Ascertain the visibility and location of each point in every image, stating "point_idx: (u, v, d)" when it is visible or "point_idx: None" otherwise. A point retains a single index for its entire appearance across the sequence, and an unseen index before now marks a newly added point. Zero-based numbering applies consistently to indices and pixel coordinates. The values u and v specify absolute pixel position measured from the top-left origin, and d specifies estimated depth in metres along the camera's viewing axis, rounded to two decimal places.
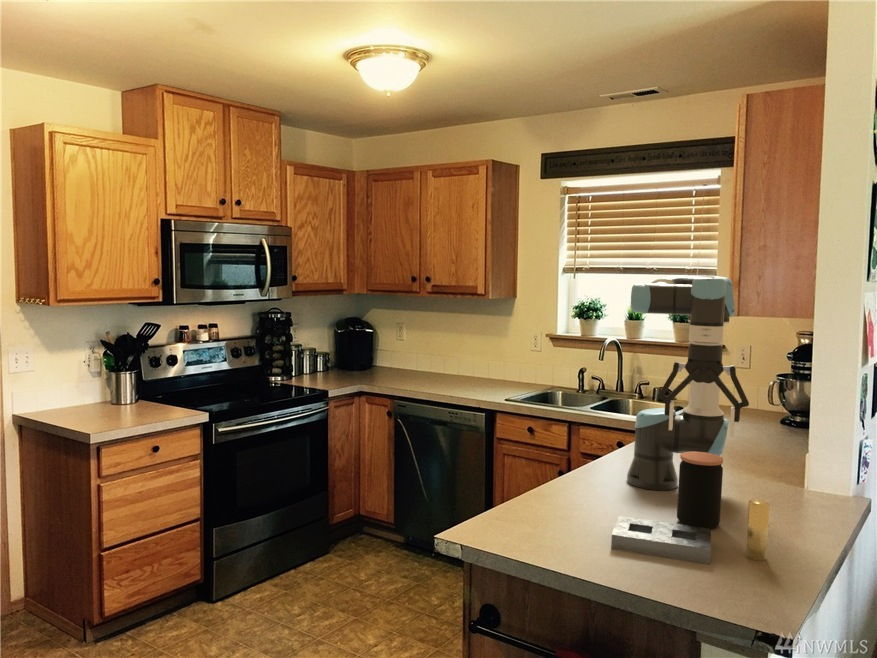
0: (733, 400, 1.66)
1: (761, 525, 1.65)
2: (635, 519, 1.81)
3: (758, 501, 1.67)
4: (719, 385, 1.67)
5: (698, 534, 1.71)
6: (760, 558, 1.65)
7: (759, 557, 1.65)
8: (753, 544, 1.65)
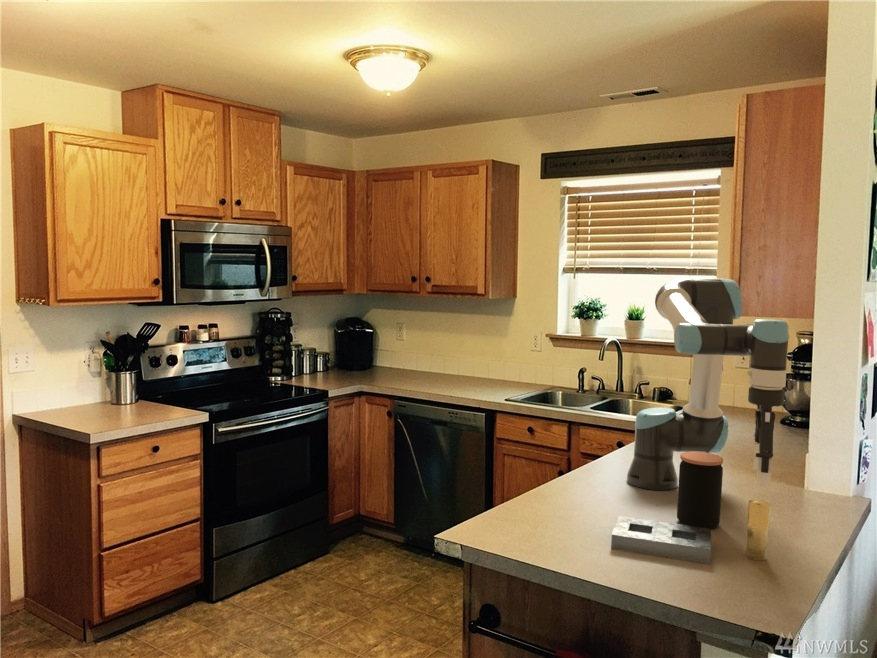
0: (759, 447, 1.59)
1: (761, 525, 1.65)
2: (635, 519, 1.81)
3: (758, 501, 1.67)
4: (759, 430, 1.62)
5: (698, 534, 1.71)
6: (760, 558, 1.65)
7: (759, 557, 1.65)
8: (753, 544, 1.65)
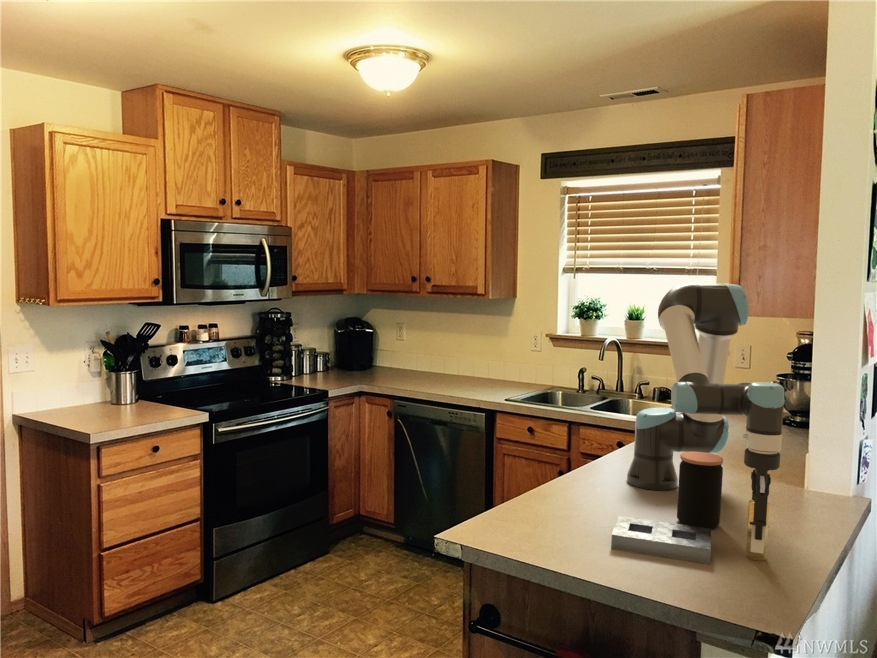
0: None
1: None
2: (635, 519, 1.81)
3: None
4: (754, 494, 1.65)
5: (698, 534, 1.71)
6: (760, 558, 1.65)
7: (759, 557, 1.65)
8: None
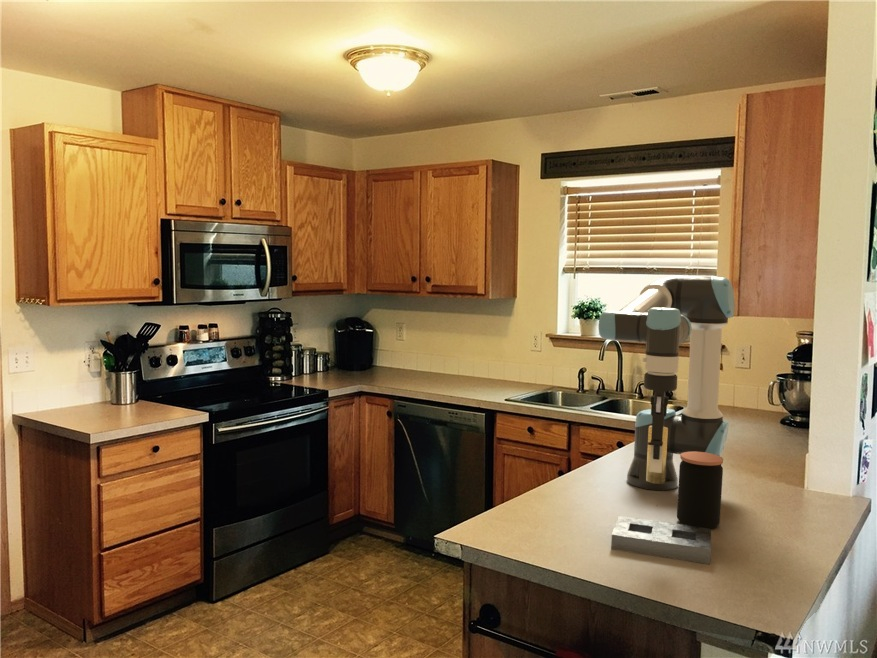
0: None
1: None
2: (635, 519, 1.81)
3: None
4: (652, 416, 1.70)
5: (698, 534, 1.71)
6: (659, 481, 1.70)
7: (658, 480, 1.70)
8: None
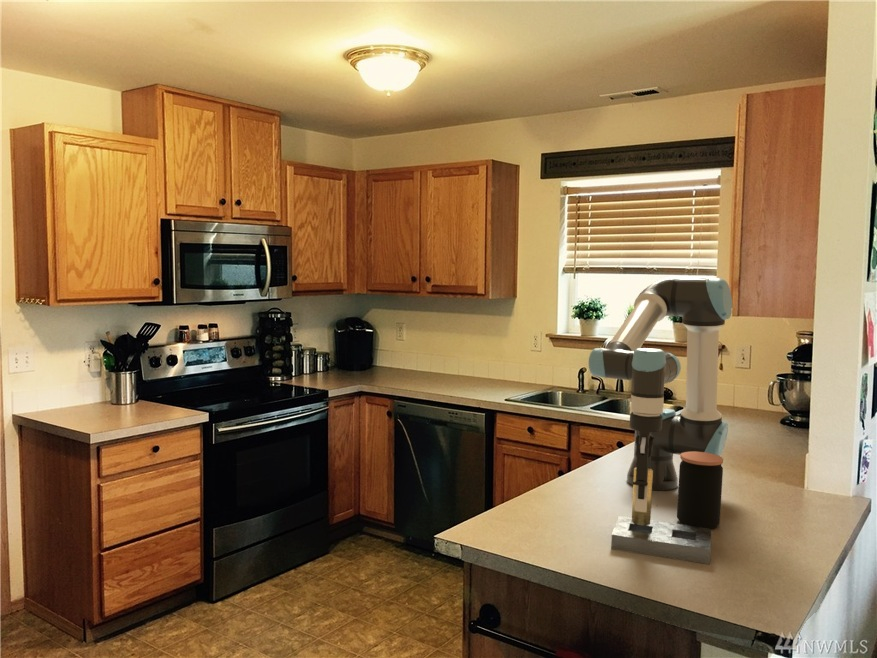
0: None
1: None
2: None
3: None
4: None
5: (698, 534, 1.71)
6: (643, 523, 1.72)
7: (642, 522, 1.72)
8: None
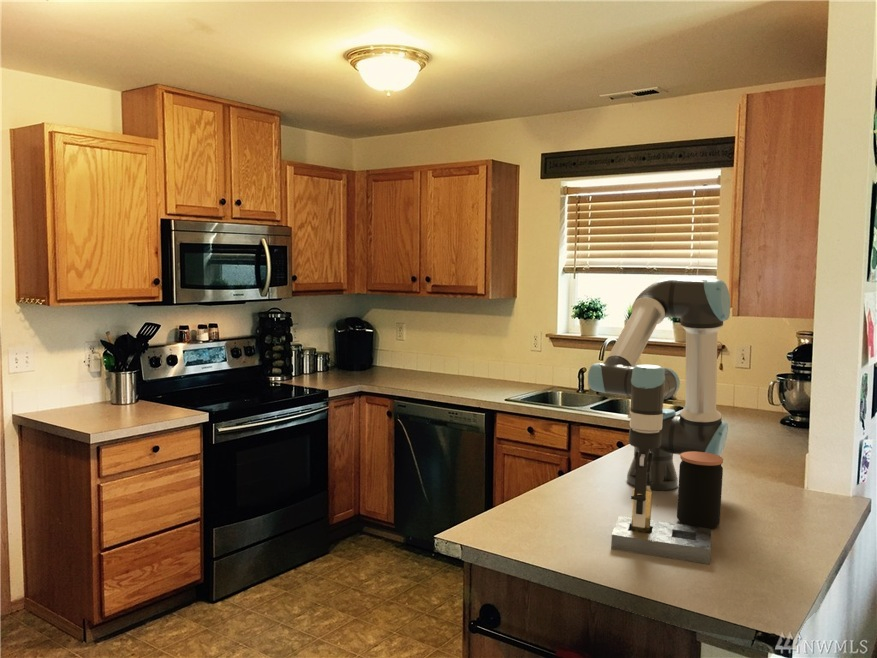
0: None
1: None
2: None
3: None
4: None
5: (698, 534, 1.71)
6: None
7: None
8: (636, 530, 1.73)
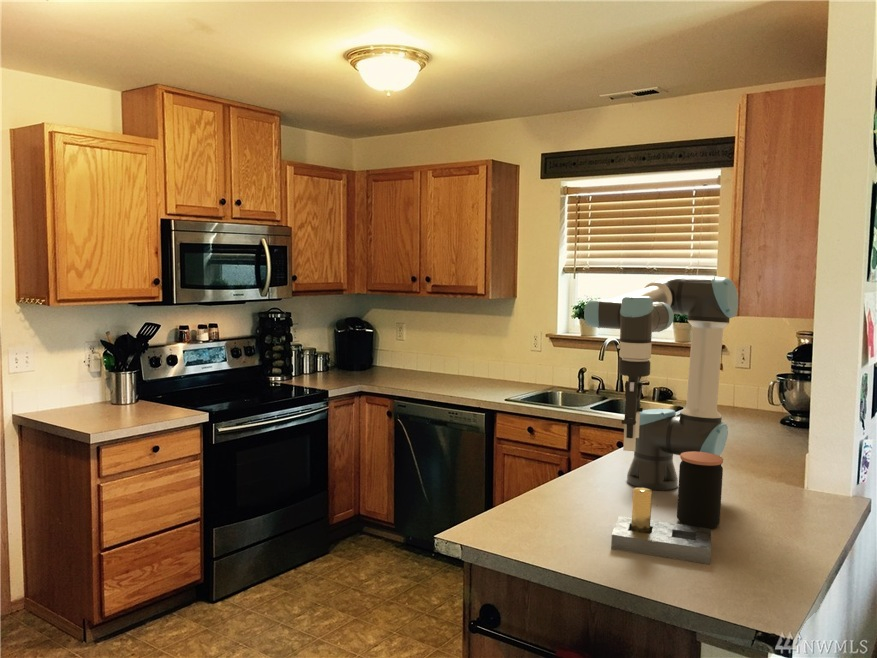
0: None
1: (643, 512, 1.72)
2: None
3: (642, 489, 1.74)
4: None
5: (698, 534, 1.71)
6: None
7: None
8: (636, 530, 1.73)
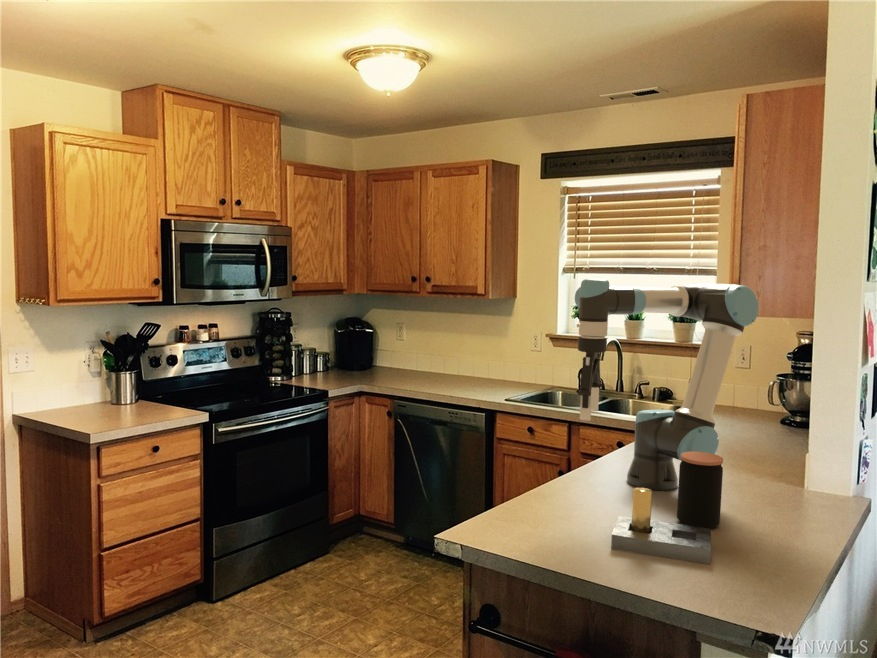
0: None
1: (643, 512, 1.72)
2: None
3: (642, 489, 1.74)
4: None
5: (698, 534, 1.71)
6: None
7: None
8: (636, 530, 1.73)
